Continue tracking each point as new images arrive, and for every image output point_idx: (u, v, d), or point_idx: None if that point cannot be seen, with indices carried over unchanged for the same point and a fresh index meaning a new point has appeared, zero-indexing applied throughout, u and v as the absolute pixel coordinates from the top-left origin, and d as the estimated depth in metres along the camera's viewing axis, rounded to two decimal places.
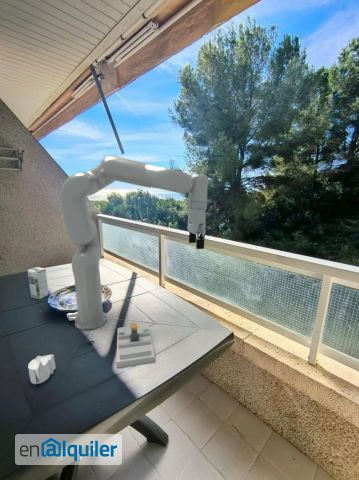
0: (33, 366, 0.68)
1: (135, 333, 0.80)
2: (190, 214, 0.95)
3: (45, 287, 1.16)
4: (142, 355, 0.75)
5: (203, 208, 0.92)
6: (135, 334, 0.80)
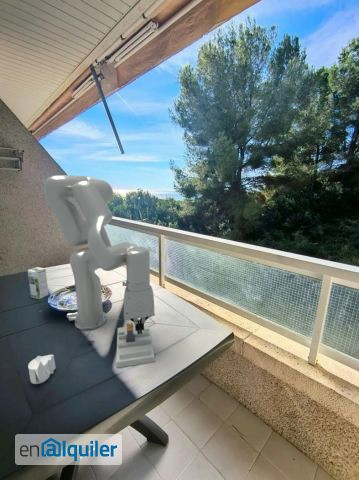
0: (33, 366, 0.68)
1: (131, 334, 0.80)
2: (138, 298, 0.76)
3: (45, 287, 1.16)
4: (142, 355, 0.75)
5: None
6: (131, 335, 0.80)
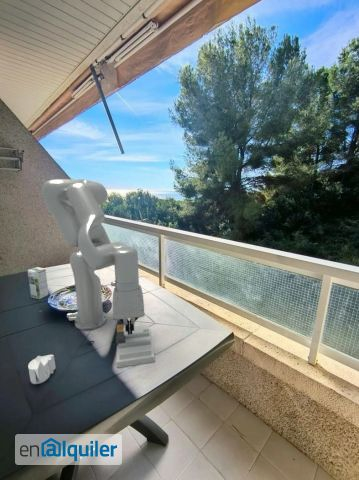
0: (33, 366, 0.68)
1: (121, 335, 0.79)
2: (127, 298, 0.75)
3: (45, 287, 1.16)
4: (142, 355, 0.75)
5: None
6: (121, 336, 0.79)
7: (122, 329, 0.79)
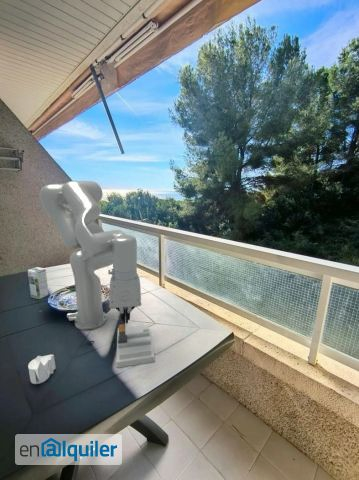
0: (33, 366, 0.68)
1: (123, 335, 0.79)
2: (124, 287, 0.74)
3: (45, 287, 1.16)
4: (142, 355, 0.75)
5: None
6: (123, 336, 0.80)
7: (124, 329, 0.79)
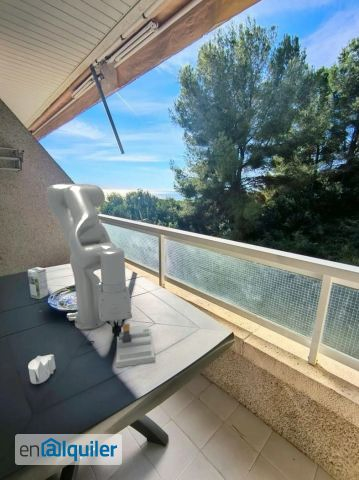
0: (33, 366, 0.68)
1: (127, 334, 0.80)
2: (113, 300, 0.74)
3: (45, 287, 1.16)
4: (142, 355, 0.75)
5: None
6: (127, 335, 0.80)
7: (128, 328, 0.79)
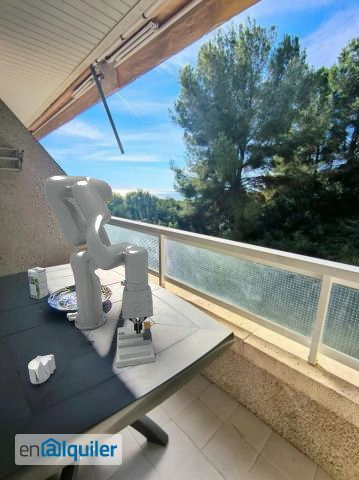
0: (33, 366, 0.68)
1: (148, 331, 0.81)
2: (136, 297, 0.75)
3: (45, 287, 1.16)
4: (142, 355, 0.75)
5: None
6: (148, 332, 0.81)
7: (149, 326, 0.81)
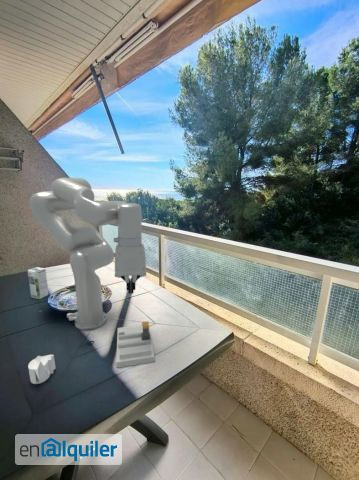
0: (33, 366, 0.68)
1: (147, 331, 0.81)
2: (129, 254, 0.74)
3: (45, 287, 1.16)
4: (142, 355, 0.75)
5: None
6: (147, 332, 0.81)
7: (148, 326, 0.81)
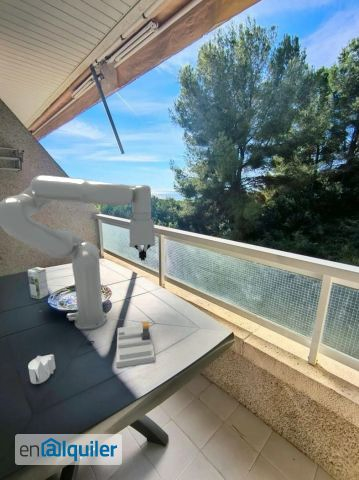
0: (33, 366, 0.68)
1: (147, 331, 0.81)
2: (141, 226, 0.91)
3: (45, 287, 1.16)
4: (142, 355, 0.75)
5: None
6: (147, 332, 0.81)
7: (148, 326, 0.81)
